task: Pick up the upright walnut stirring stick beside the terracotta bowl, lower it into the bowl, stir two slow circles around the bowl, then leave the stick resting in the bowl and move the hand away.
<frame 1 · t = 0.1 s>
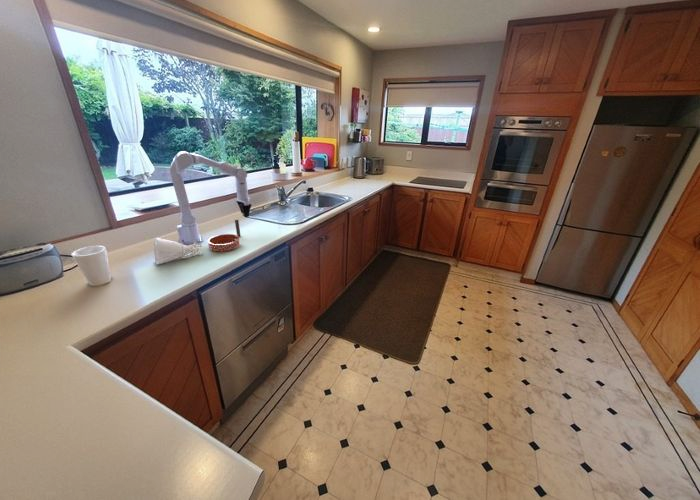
hand: (245, 214, 156), 10 cm above the counter, tool pointing down, fingers open, 7 cm apart
bowl: (224, 246, 140), on the counter
stick: (238, 237, 153), on the counter
foam cup: (100, 282, 107), on the counter
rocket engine: (180, 259, 126), on the counter
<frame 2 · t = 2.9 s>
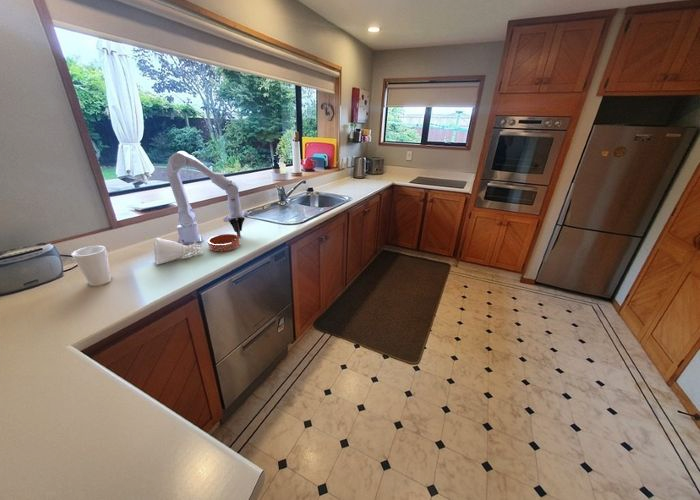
hand: (238, 231, 151), 3 cm above the counter, tool pointing down, fingers closed on stick, 2 cm apart
stick: (238, 237, 153), on the counter, touching gripper
everything else where it was.
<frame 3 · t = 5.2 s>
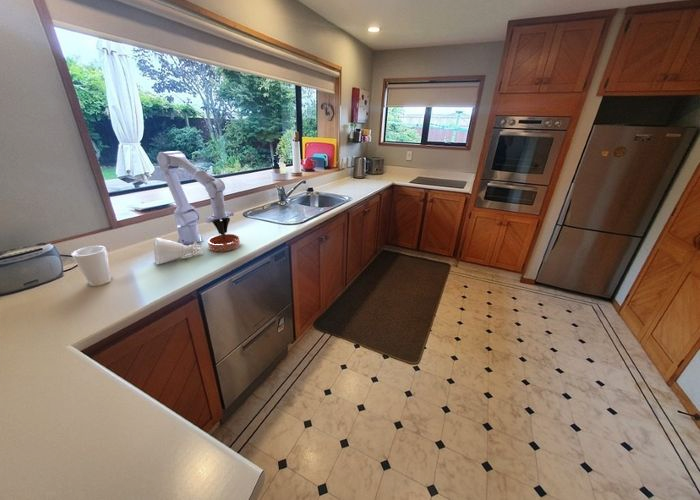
hand: (222, 233, 138), 7 cm above the counter, tool pointing down, fingers closed on stick
stick: (224, 239, 139), point 4 cm above the counter, touching gripper
everything else where it was.
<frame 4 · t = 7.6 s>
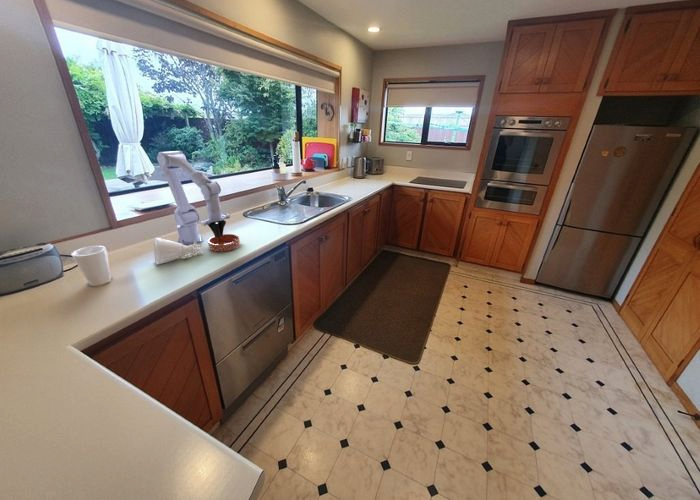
hand: (218, 235, 136), 6 cm above the counter, tool pointing down, fingers closed on stick, 2 cm apart
stick: (220, 242, 138), point 3 cm above the counter, touching gripper
everything else where it was.
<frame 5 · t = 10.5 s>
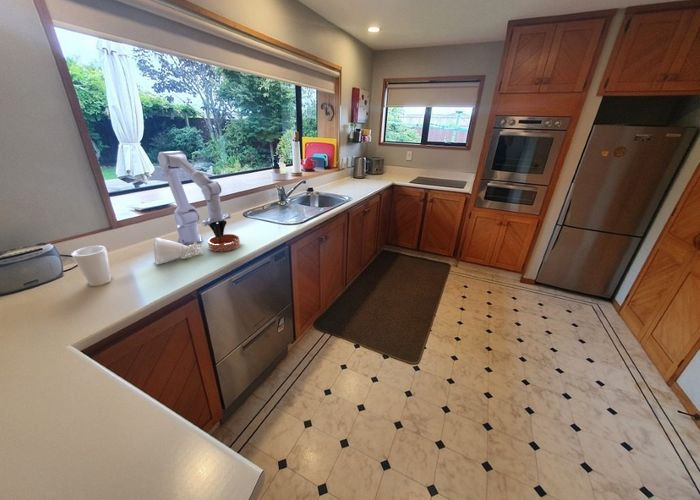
hand: (219, 235, 136), 6 cm above the counter, tool pointing down, fingers closed on stick, 2 cm apart
stick: (220, 242, 137), point 3 cm above the counter, touching gripper
everything else where it was.
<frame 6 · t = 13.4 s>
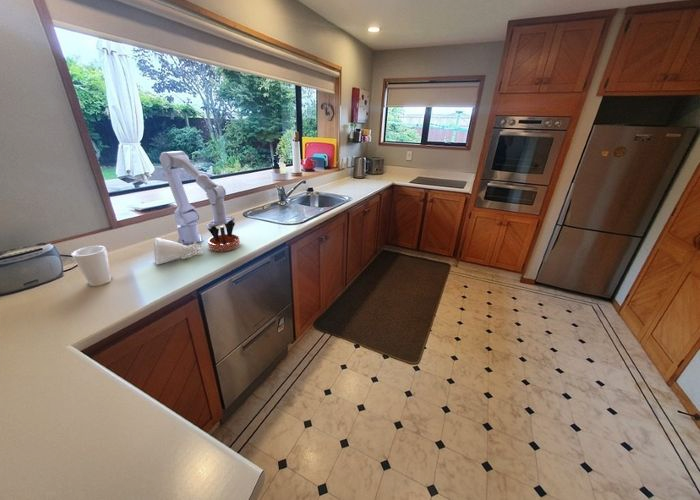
hand: (223, 238, 139), 4 cm above the counter, tool pointing down, fingers open, 7 cm apart
stick: (224, 245, 140), point 1 cm above the counter, touching bowl
everything else where it was.
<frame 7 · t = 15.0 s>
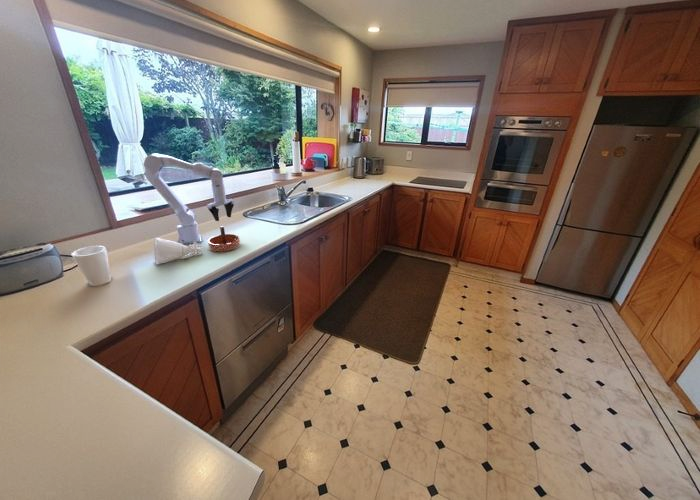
hand: (223, 218, 148), 10 cm above the counter, tool pointing down, fingers open, 7 cm apart
nothing on the counter moved.
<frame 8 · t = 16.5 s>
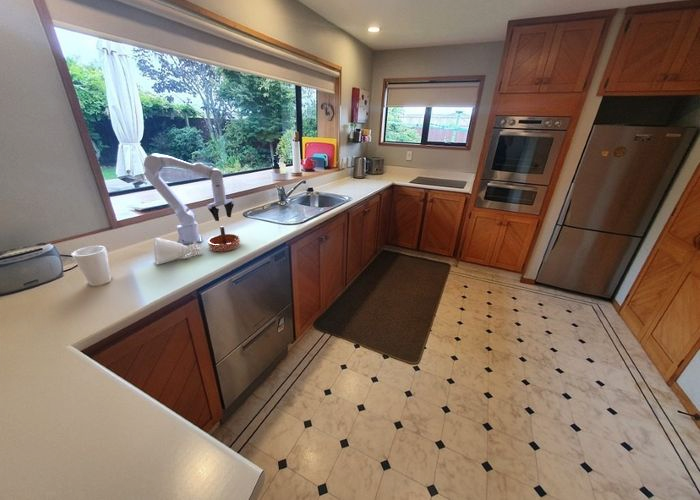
hand: (223, 218, 148), 10 cm above the counter, tool pointing down, fingers open, 7 cm apart
nothing on the counter moved.
at the end: stick inside the target area in the bowl (0.1 cm from its centre), point 0.6 cm above the bowl's base; the gripper is holding nothing; stick moved 13.5 cm from its start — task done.
